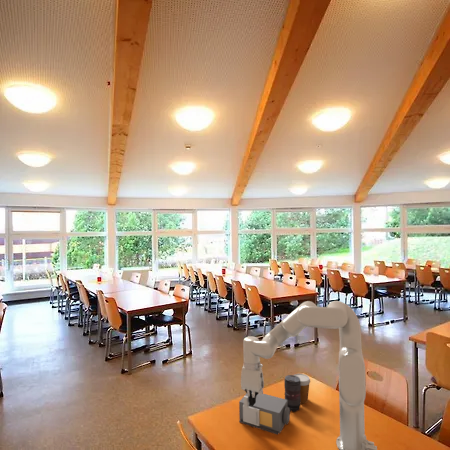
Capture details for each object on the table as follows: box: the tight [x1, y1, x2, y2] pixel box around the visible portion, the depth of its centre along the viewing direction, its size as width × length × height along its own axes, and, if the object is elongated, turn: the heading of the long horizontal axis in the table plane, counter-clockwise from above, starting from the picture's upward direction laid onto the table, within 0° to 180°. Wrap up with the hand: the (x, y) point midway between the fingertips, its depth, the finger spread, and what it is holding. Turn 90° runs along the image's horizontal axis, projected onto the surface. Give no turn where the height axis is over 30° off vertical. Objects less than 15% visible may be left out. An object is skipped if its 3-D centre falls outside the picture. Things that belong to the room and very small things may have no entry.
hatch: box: [243, 395, 260, 426], centre depth 142 cm, size 8×1×12 cm, turn 61°
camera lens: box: [283, 374, 301, 412], centre depth 156 cm, size 8×8×15 cm
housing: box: [238, 391, 291, 436], centre depth 145 cm, size 22×13×10 cm, turn 61°
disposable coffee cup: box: [293, 373, 311, 404], centre depth 162 cm, size 10×10×12 cm
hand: (252, 404), depth 141 cm, fingers closed
